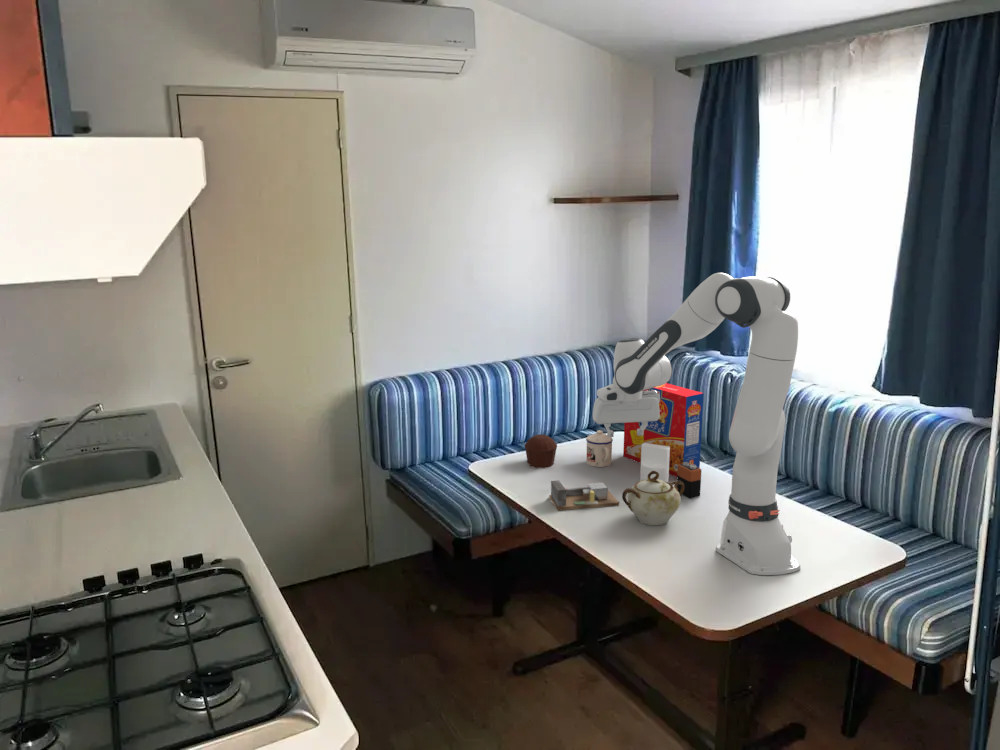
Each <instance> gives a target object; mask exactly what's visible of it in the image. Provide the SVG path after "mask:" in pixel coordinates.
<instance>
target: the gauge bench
mask: <svg viewBox="0 0 1000 750" xmlns="http://www.w3.org/2000/svg"><path fill="white" fill-rule="evenodd" d="M584 489H587V486H586V487H585V486H584V487H574V488H573V487H572V488H566V487H565V486H564V485H563V483H562V482H561V481H560V480H550V494H549V495H548V496H549V500H550V501H551V503H552V504H553V506H554V507H555V509H556V510H557V511H569V510H580V509H582V510H583V509H593V508H605V507H615V506H617V507H618V506H619V505H620V502H619V500H618V499H616V496H614V495H613V494H612V493H611V491H610V490H609V489H608V493H607V499H601V500H594V502H591V501H590V498H589V497H588V495H584V496H583V494H582V490H584Z"/></svg>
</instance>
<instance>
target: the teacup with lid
mask: <svg viewBox="0 0 1000 750" xmlns="http://www.w3.org/2000/svg"><path fill="white" fill-rule="evenodd" d="M613 440H614V439H613V437H608V436H607V433H603V430H598V429H597V430H596V432H595V433H593V434H589V435H588V436H587V437H586V458H585V459H586V464H587V465H589V466H590V467H598V468H602V467H608V466H610V465H611V464H612V457H613V455H612V454H613Z"/></svg>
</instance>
